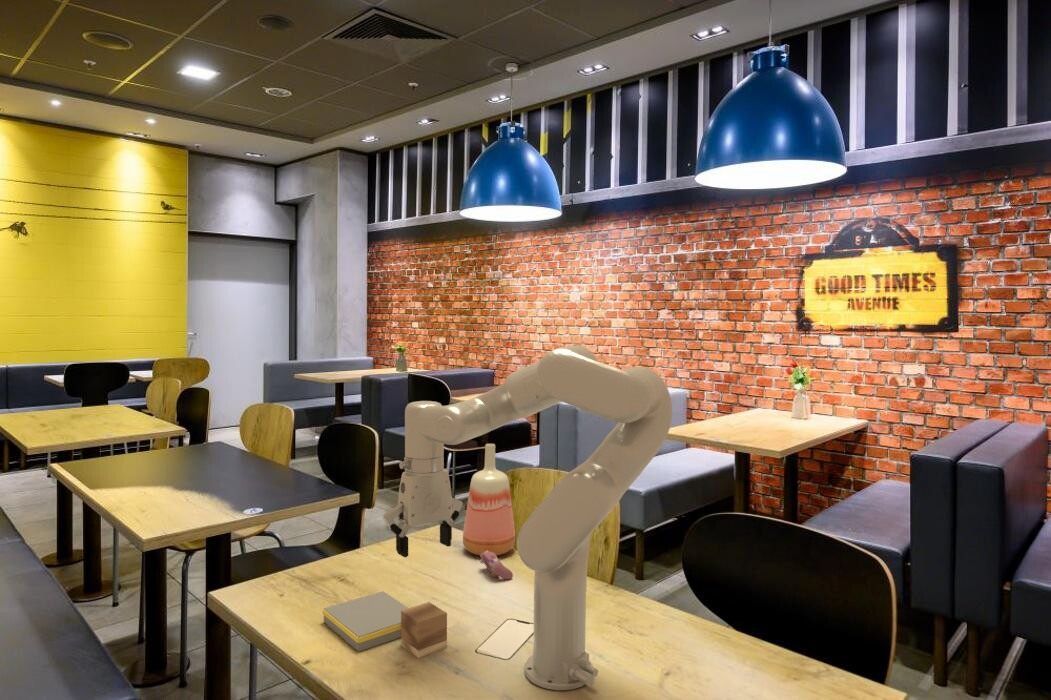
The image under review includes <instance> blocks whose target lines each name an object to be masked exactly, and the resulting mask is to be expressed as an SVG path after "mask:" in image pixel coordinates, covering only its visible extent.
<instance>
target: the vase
mask: <svg viewBox="0 0 1051 700" xmlns="http://www.w3.org/2000/svg"><path fill="white" fill-rule="evenodd" d="M484 450H485V452H484V467H483V469H482V470H481V469H480V470H479V471H477V472H475V473H474V474H473V475H472V477H471V479H470V480H471V481H470V484H469V485H470V486H469V490H468V491H469V492H468V497H467V498H468V499H467V505H466V511H465V518H464V523H463V524H464V525H463V531H462V544H463V547H464V548H465V549H466V551H467V552H470V553H471V554H472V555H475V556H479V557H480V554H482V553H483V552H486V551H487V550H488V552H493V553H495V554H496V556H497V557H498V556H503V555H505V554H507V553H509V552H510V551H511V550H512V549H513V548H514V546H515V544H516V530H515V522H514V512H513V505H512V497H511V496H512V495H511V489H510V488H511V487H510V481H509V477H508V475H507V473H505V472H503V471H502V470H498V469H497V468H496V444H495V443H486V444H485V447H484Z"/></svg>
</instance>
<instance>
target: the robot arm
mask: <svg viewBox="0 0 1051 700" xmlns="http://www.w3.org/2000/svg"><path fill="white" fill-rule="evenodd" d="M560 403H565V404H567V405H570V406H572V407H575V408H577V409H579V410H583V411H586V412H588V413H590V414H593V415H595V416H597V417H600V418H603V419H605V420H609V421H610V422H614V423H617V424H615V426H614V428H612V430H611V431H610V432H609V433H608V434H607V435H606V437H605V438H604V439H603V440H602V442H601V443H600V445H599V446H598V447H597V448H596V449H595V451H593V453H592V454H591V455H590V456H589V457H588V458H587V459H586V460H585V461H584V462H582V463H581V464H579V465H578V466H576V467H575V468H573V469H572V470H570V471H569V472H568V473H567V474H565V475H564V476H563V477H561V479H560V480H559V481H557V483H556V484H555V485H554V487H552V489H551V490H550V491H549V492H548V494H547V495H546V496H545V497H544V498H543V500H542V501H541V502H539V504H538V506H537V507H536V508H535V509H534V511H532V513H531V514H530V515H529V517H528V518H527V519H526V520H525V522H524V523H523V524H522V526H521V527H520V528H519V531H518V535H517V539H516V549H517V553H518V556H519V558H520V560H521V561H522V563H523V564H524V566H526V567H527V568H529V570H531V571H534V576H533V578H534V585H533V586H534V587H533V623H534V635H533V636H532V637H533V639H532V640H533V641H532V643H533V644H532V645H533V647H532V648H533V650H532V651H533V652H532V654H531V656H530V657H529V656H528V658H527V659H526V660H525V663H524V675H525V676H526V677H527V680H529V681H530V682H531V683H532V684H534V685H536V686H538V687H541V688H543V689H547V690H551V691H568V690H569V691H571V690H574V689H579V688H582V687H583V686H587V687H591V686H593V685H594V682H595V678H596V677H597V676H598V674H599V670H598V669H597V668H596V667H594V666H593V663H592V662H591V661H590V653H588V652H586V621H587V620H586V617H587V616H586V614H587V612H586V610H587V585H588V584H587V582H588V581H587V580H588V579H587V577H588V562H589V552H590V547H591V546H590V545H591V544H590V542H591V537H592V536H591V534H592V533H594V531H595V530H596V529H597V527H598V526H599V525H600V524H601V523H602V522H603V520H605V519H606V518H607V516H609V514H611V512H613V510H614V509H615V508H616V507H617V505H618V503H619V502H620V500H621V498H622V497H623V496H624V494H625V493H626V492H627V491H628V489H629V488H630V487H631V485H632V484H633V483H634V482H635V481H636V480H637V479H638V477H639V476H640V475H641V474H642V472H643V471H644V470H645V469H646V468H647V467H648V465H649V464H650V462H651V461H652V460H653V459H654V457H656V455H657V454H658V452H659V451H660V449H661V448H662V446H663V445H664V443H665V440H666V438H667V436H668V434H669V431H670V427H671V425H672V420H673V419H672V418H673V404H672V398H671V395H670V391H669V389H668V386H667V385H666V383H665V381H664V379H663V378H662V377H661V376H660V374H658V373H657V372H656V371H655V370H652V369H651V368H647V367H644V366H633V367H628V368H626V369H620V368H618V367H614V366H613V365H612V366H611V365H608V364H605V363H603V362H600V361H598V359H597V357H596V355H595V354H594V353H593V352H592V351H591V350H590V349H588V348H586V347H584V346H580V345H570V346H563V347H558V348H554V349H552V350H550V351H548V352H547V353H546V354H545V355H543V356H542V358H541V359H539V360H538V361H536V362H533V363H531V364H528V365H527V366H524V367H522V368H520V369H518V370H516V371H514V372H511V373H510V374H508V375H507V376H506V380H505V381H504V382H503V383H502V384H500V385H499V386H497V387H494V388H493V389H490V390H488V391H487V392H484V393H482V394H480V395H478V396H475V397H473V398H471V399H467V400H462V401H458V402H456V403H451V404H448V405H442V403H441V402H438V401H432V400H419V401H412V402H409V403H408V404H407V405H406V407H405V409H404V458H403V459H404V460H403V461H400V462H399V464H398V465H399V468H400V469H401V470H404V471H403V472H402V474H401V476H400V477H401V478H400V483H399V489H398V497H397V498H398V500H397V505H395V506H394V507H393V508H392V509H391V510H389V511H388V512H386V513H385V514H384V515H383V520H384V522H385V524H386V526H387V528H388V529H389V530H390V531H392V533H393V534H395V535H396V536H395V550H396V553H397V554H398V555H400V556H401V557H403V558H408V556H409V537H408V536H407V533H408V532H409V531H410V530H411V527H412V528H415V527H423V526H427V525H430V524H435V523H440V522H441V523H440V524H439V543H440V544H441V545H444V546H446V547H451V546H452V537H453V536H452V535H453V531H452V529H453V526H455V521H456V520H457V518H458V517H459V516H460V512H461V509H462V507H463V501H462V500H459V499H457V498H454V497H453V496H452V488H451V487H452V486H451V480H450V476H449V471H448V469H446V468H444V466H445V462H444V460H445V459H444V453H445V452H444V451H445V449H444V448H445V447H444V446H445V445H449V446H450V445H451V446H453V445H455V446H456V445H459V444H462V443H465V442H467V441H469V440H472V439H475V438H477V437H481V436H483V435H486V434H488V433H490V432H491V431H494V430H496V429H498V428H501V427H503V426H505V425H507V424H510V423H512V422H514V421H517V420H519V419H524V418H528V417H530V416H533V415H535V414H537V413H539V412H542V411H543V410H546V409H548V408H551V407H552V406H553V407H554V406H556V405H557V404H560ZM396 517H398V520H399V521H398V522H397V524H396V522H395V518H396Z"/></svg>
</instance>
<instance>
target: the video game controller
mask: <svg viewBox="0 0 1051 700" xmlns="http://www.w3.org/2000/svg"><path fill="white" fill-rule="evenodd" d="M479 557H480V559H479V562H480V564H482V565H483V564H484V565H485V567H486V568H487V570H488V571H489V573H490V574H491V576H494V578H498V577H499V578H501V579H504V580H508V581H509V580H512V579H513V577H514V573H513V571H512V570H511V569H509V568H508V567H506V566H505V565H504V564H503V563H502V561H501V560H500V558H498V556H496V554H495V553H493V552H488V550H487V551H486V552H483V553H482V554H480V556H479Z"/></svg>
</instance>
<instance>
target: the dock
mask: <svg viewBox="0 0 1051 700" xmlns="http://www.w3.org/2000/svg"><path fill="white" fill-rule="evenodd" d="M408 608H409V607H408V606H406V605H404V604H403V603H401V602H400V601H399V600H397V599H396V598H394V597H393V596H391V595H390V594H388V593H387V592H386V591H384V590H383V591H382V590H381V591H380V592H376V593H372V594H368V595H366V596H362V597H359V598H358V597H357V598H355V599H352V600H348V601H344V602H342V603H341V602H340V603H337V604H335V605H331V606H328V607H324V608H323V609H322V615H323V623H324V622H325V623H326V624H327V625H326V624H325V623H324V624H325V625H326V626H328V627H329V629H331V630H332V629H333V630H334V633H336V635H338V636H339V635H340V636H339V637H340V638H341V639H342V640H344V641H345V642H346V643H347V644H348V645H350V646H351V647H352V648H354V649H355V650H356V651H357V652H362V651H366V650H367V649H370V648H374V647H376V646H379V645H382V644H386V643H388V642H391V641H394V640H397V639H401V611H402V610H405V609H408ZM333 630H332V631H333Z"/></svg>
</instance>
